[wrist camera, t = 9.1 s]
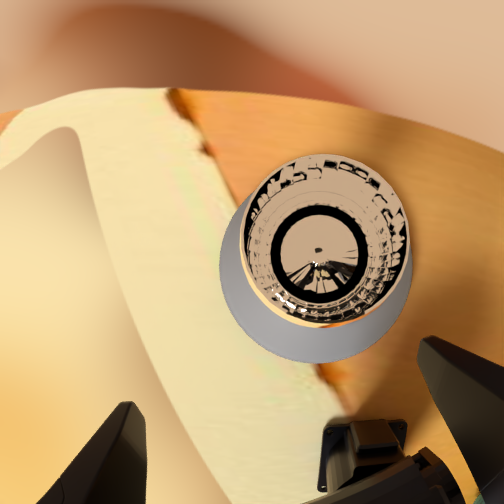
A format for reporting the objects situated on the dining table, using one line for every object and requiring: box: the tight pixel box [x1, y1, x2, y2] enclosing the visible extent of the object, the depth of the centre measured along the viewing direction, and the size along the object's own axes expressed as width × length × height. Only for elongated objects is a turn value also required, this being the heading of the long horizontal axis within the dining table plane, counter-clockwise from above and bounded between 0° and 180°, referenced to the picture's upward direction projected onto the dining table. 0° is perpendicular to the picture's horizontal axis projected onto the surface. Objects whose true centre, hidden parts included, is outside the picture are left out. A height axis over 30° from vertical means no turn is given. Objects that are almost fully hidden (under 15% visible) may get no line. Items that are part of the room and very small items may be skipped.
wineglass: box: [239, 154, 410, 331], centre depth 14 cm, size 6×6×12 cm
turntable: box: [219, 191, 412, 363], centre depth 20 cm, size 13×13×1 cm
